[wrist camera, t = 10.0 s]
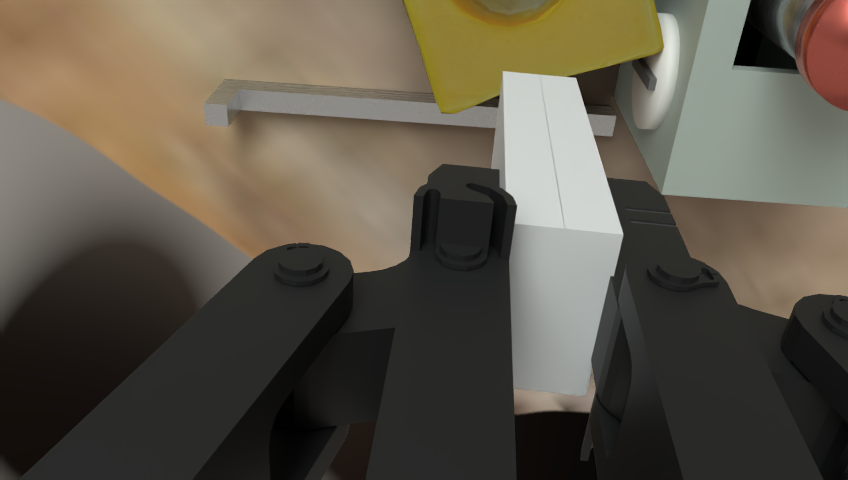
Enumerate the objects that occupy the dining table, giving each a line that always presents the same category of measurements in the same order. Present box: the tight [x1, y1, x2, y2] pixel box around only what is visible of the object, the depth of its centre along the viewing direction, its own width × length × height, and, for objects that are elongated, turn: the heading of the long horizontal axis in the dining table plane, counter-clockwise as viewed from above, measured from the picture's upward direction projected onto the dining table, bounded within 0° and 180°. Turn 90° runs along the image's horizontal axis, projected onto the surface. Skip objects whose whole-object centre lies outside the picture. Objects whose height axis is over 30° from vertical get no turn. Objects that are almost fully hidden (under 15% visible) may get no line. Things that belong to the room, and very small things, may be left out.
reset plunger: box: [746, 0, 848, 111], centre depth 26 cm, size 4×4×8 cm
